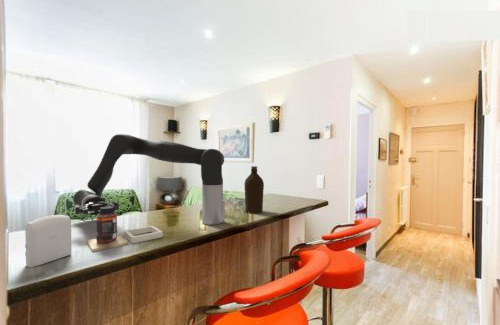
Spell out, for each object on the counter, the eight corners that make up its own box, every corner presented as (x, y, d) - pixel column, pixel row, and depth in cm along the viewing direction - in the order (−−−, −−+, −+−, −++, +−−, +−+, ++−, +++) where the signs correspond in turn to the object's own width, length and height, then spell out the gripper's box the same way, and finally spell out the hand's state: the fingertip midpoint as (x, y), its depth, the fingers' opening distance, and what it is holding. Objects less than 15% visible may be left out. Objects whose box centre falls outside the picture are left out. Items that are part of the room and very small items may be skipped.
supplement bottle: (120, 240, 82) (120, 206, 82) (101, 245, 77) (102, 209, 77) (111, 237, 85) (111, 205, 85) (92, 241, 80) (93, 207, 80)
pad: (119, 236, 88) (119, 234, 88) (127, 244, 80) (127, 242, 80) (86, 242, 82) (86, 240, 82) (92, 251, 74) (92, 249, 74)
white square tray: (152, 230, 96) (152, 225, 96) (162, 237, 88) (162, 231, 88) (123, 235, 89) (123, 230, 89) (131, 243, 81) (131, 237, 81)
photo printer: (30, 269, 62) (30, 221, 62) (22, 266, 64) (22, 219, 63) (74, 254, 71) (74, 213, 71) (65, 252, 73) (65, 211, 73)
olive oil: (252, 214, 125) (253, 166, 125) (240, 211, 134) (240, 166, 133) (267, 212, 132) (267, 166, 132) (255, 209, 140) (255, 166, 140)
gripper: (72, 196, 96) (77, 202, 84) (112, 193, 106) (122, 198, 93) (72, 215, 96) (77, 223, 84) (112, 210, 106) (122, 217, 93)
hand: (100, 210), depth 89 cm, fingers open, 8 cm apart
